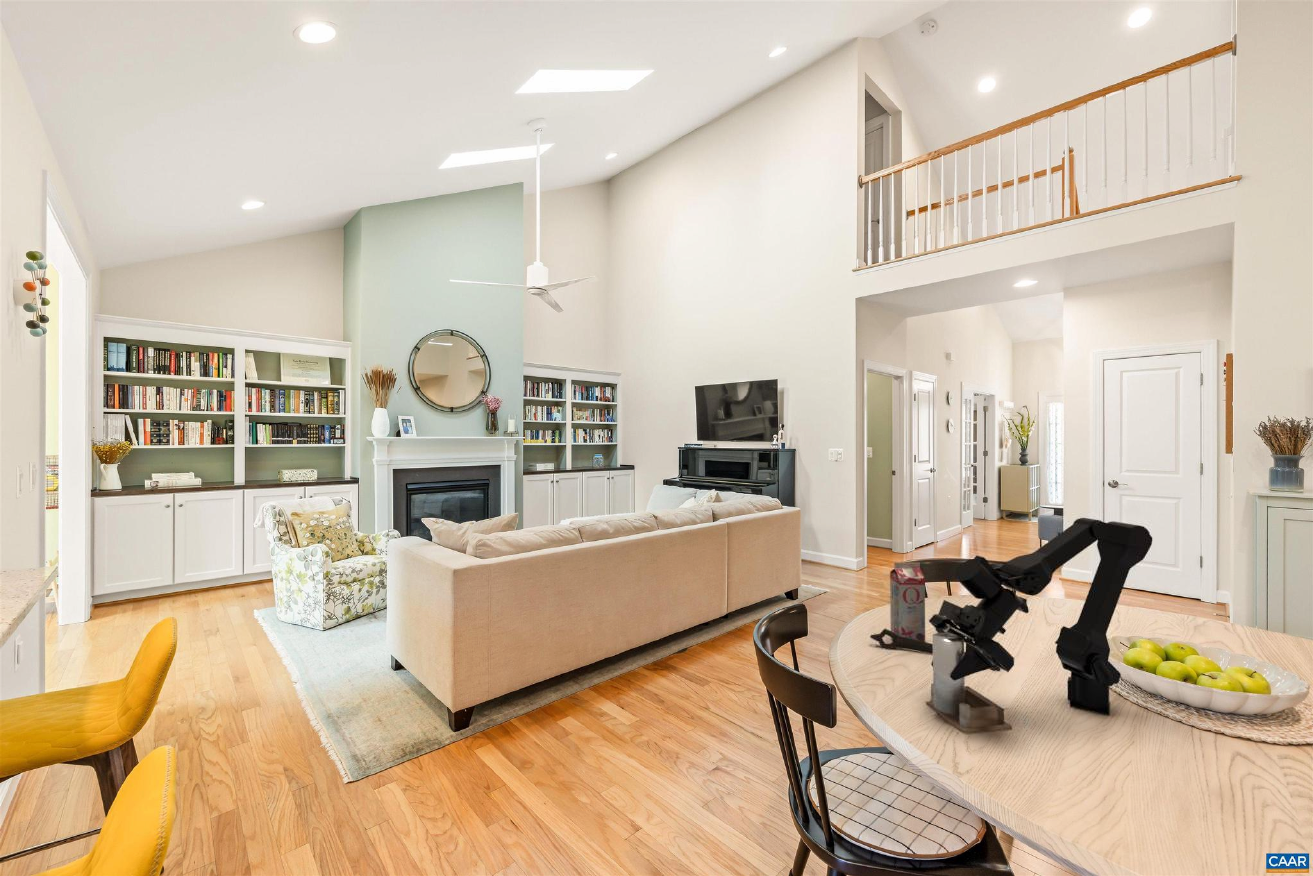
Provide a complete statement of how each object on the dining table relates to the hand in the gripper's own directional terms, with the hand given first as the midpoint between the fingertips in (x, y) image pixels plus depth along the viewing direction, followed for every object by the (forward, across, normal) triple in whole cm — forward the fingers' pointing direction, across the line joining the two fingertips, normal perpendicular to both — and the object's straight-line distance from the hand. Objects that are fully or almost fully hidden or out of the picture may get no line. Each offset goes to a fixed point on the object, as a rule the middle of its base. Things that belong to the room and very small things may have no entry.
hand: (942, 672), depth 115 cm
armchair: (+3, 0, +10) cm, 11 cm away
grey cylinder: (+4, 0, +6) cm, 7 cm away
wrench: (-5, -30, +19) cm, 36 cm away
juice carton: (-5, -39, +18) cm, 43 cm away
